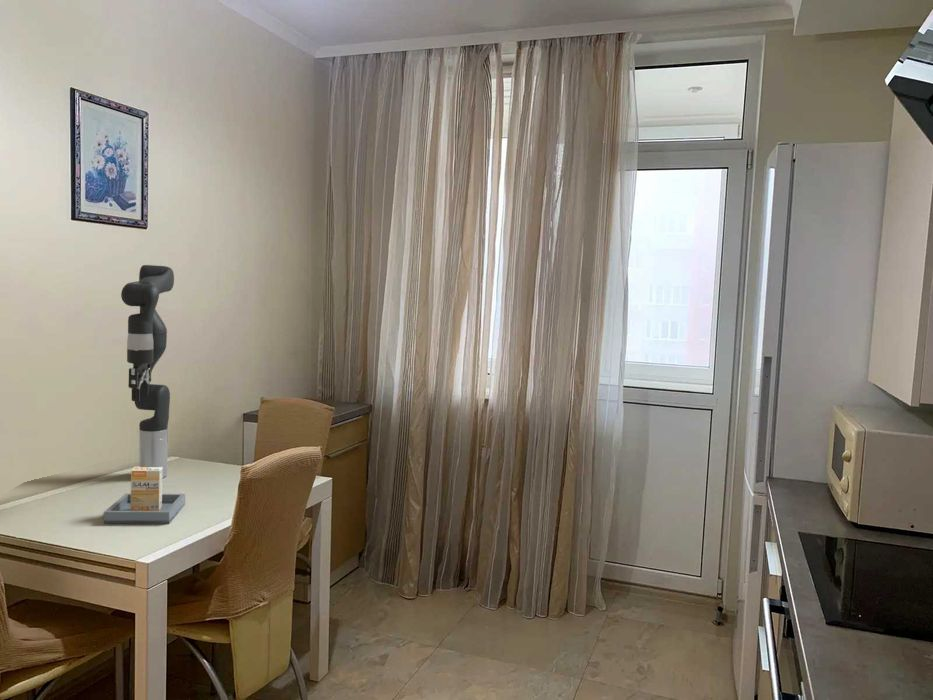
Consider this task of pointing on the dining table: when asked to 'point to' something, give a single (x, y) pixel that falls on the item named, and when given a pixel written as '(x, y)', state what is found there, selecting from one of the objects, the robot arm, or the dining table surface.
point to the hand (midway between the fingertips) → (140, 398)
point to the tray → (124, 515)
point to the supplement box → (146, 488)
